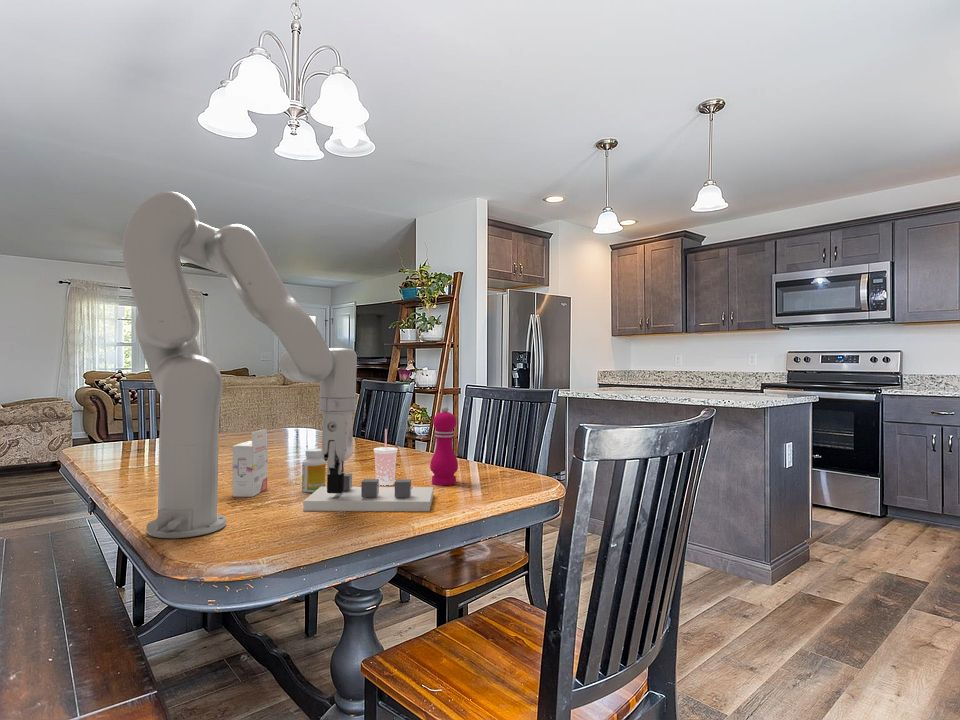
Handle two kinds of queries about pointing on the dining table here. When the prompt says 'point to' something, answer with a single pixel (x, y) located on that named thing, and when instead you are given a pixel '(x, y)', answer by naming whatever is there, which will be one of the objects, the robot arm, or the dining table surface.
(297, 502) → the dining table surface
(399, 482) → the dark gray cube
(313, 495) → the switch panel
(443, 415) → the pepper mill
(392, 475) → the beverage cup
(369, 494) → the dark grey cube
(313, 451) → the supplement bottle
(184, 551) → the dining table surface
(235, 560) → the dining table surface
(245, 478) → the ink cartridge box
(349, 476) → the dark grey cube
